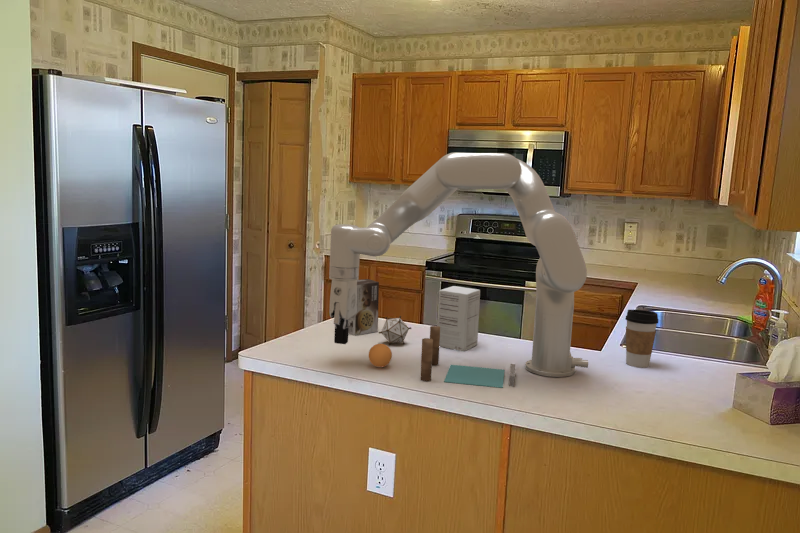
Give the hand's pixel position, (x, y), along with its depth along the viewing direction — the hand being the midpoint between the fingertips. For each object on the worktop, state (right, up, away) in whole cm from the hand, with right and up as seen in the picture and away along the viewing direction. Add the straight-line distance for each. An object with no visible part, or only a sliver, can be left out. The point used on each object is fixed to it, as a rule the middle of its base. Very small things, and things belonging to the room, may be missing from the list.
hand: (341, 342), depth 158 cm
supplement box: (+32, -4, +22) cm, 39 cm away
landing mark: (+34, -8, -6) cm, 35 cm away
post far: (+24, -6, +3) cm, 25 cm away
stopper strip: (+43, -8, -8) cm, 44 cm away
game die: (+14, -3, +21) cm, 26 cm away
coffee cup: (+80, -7, +9) cm, 81 cm away
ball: (+10, -3, -2) cm, 11 cm away
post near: (+22, -8, -10) cm, 25 cm away
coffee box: (+3, -1, +34) cm, 34 cm away
